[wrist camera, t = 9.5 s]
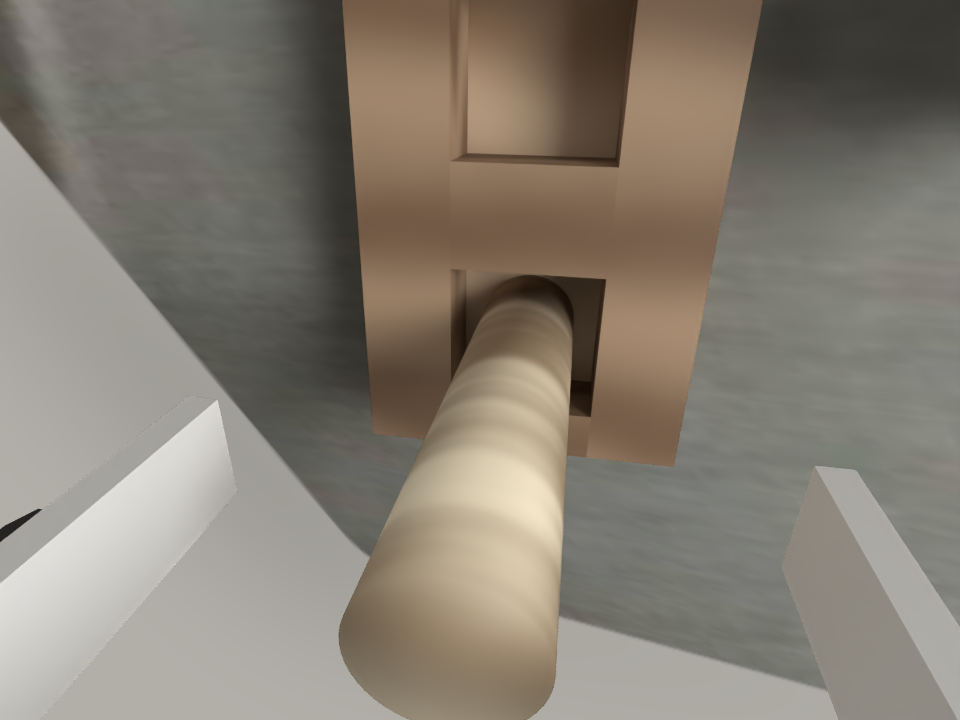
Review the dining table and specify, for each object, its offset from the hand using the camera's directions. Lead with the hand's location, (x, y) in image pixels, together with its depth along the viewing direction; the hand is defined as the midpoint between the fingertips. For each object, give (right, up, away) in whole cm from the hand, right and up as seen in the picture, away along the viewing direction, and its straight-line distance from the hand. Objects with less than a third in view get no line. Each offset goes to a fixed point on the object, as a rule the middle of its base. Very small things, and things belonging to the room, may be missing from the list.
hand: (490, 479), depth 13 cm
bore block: (+2, +9, +10) cm, 13 cm away
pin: (+2, +4, +11) cm, 12 cm away
